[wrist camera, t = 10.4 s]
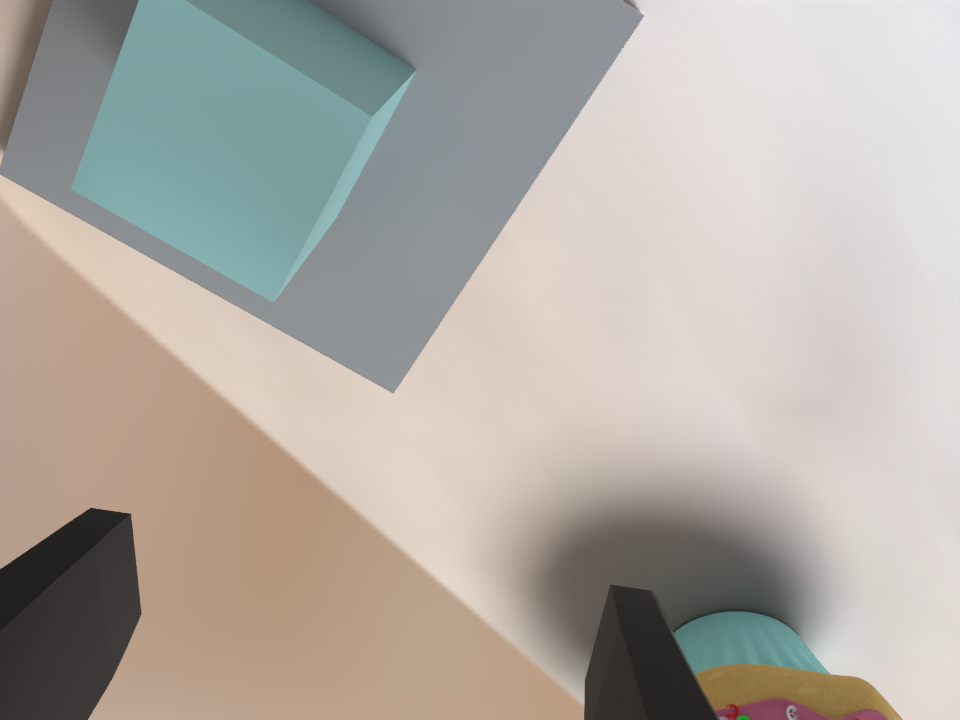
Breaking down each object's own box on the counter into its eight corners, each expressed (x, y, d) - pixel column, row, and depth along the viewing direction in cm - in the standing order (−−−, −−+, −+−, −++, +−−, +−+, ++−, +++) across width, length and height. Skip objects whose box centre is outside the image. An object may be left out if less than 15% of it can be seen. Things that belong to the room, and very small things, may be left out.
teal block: (416, 70, 18) (372, 116, 13) (336, 218, 20) (273, 302, 15) (251, -36, 17) (147, -24, 13) (182, 128, 19) (70, 189, 14)
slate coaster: (640, 12, 18) (644, 15, 17) (398, 378, 22) (393, 393, 22) (174, -317, 16) (156, -329, 15) (17, 164, 20) (-3, 173, 20)
